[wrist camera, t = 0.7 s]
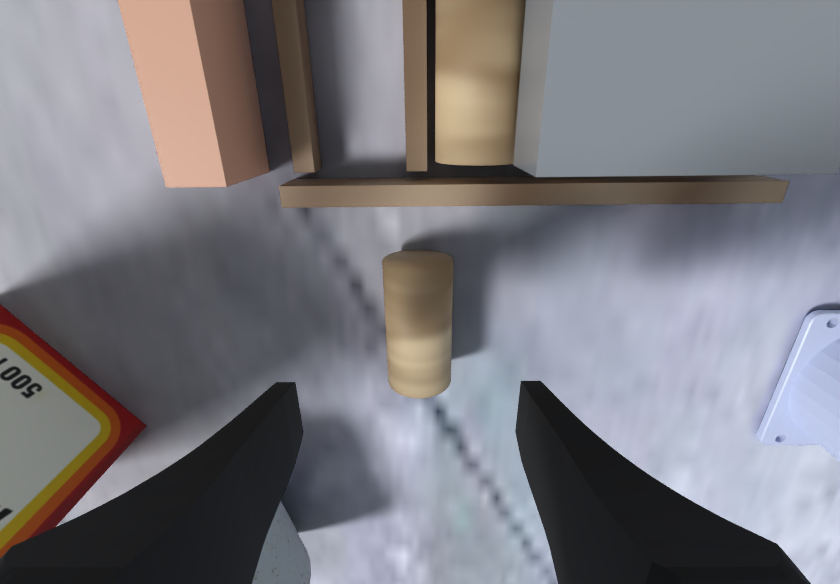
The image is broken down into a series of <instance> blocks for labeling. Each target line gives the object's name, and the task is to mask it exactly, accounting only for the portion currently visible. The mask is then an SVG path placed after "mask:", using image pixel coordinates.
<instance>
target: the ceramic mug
mask: <svg viewBox="0 0 840 584" xmlns="http://www.w3.org/2000/svg"><path fill="white" fill-rule="evenodd" d="M310 577H311V567H310V559H309V556H308V553H307V550H306V548H305V546H304V544H303V542H302V541H301V539H300V537H299V535H298V533H297V530H296V528H295V526H294V524H293V522H292V520H291V519H290V517H289V515H288V513H287V511H286V509H285V507H284V506H283V504H282V502H281V501H280V503H279V506H278V508H277V511H276V513H275V516H274V518H273V521H272V523H271V526H270V528H269V531H268V534H267V536H266V539H265V542H264V545H263V548H262V551H261V555H260V558H259V561H258V565H257V568H256V571H255V575H254V578H253V582H252V584H310Z"/></svg>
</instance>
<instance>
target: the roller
mask: <svg viewBox="0 0 840 584" xmlns="http://www.w3.org/2000/svg"><path fill="white" fill-rule="evenodd" d="M453 263H454V260H453V258H452V257H451V256H450V255H448V254H446V253H443V252H439V251H434V250H405V251H399V252H395V253H392V254H389V255H387V256H386V257H385V258H384V259H383V260H382V265H383V285H384V304H385V323H386V342H387V362H388V381H389V385H390V386H391V388H392V389H393V390H394V391H395V392H397V393H399V394H401V395H403V396H406V397H410V398H428V397H432V396H435V395H438V394H440V393H442V392H443V391H445V390H446V389H447V388H448V386H449V385H450V382H451V349H452V306H453Z"/></svg>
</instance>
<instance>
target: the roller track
mask: <svg viewBox="0 0 840 584" xmlns="http://www.w3.org/2000/svg"><path fill="white" fill-rule="evenodd" d="M271 1H272V9H273V16H274V24H275V32H276V39H277V47H278V54H279V62H280V69H281V77H282V85H283V92H284V100H285V107H286V115H287V122H288V130H289V138H290V145H291V153H292V160H293V168H294V173H304V172H316V171H318V170H320V169H322V166H321V157H320V147H319V138H318V128H317V119H316V109H315V100H314V90H313V81H312V71H311V62H310V52H309V43H308V33H307V24H306V14H305V5H304V0H271ZM525 7H526V0H436V66H435V162H437V163H442V164H451V165H474V166H484V165H507V164H513V161H514V148H515V135H516V122H517V109H518V97H519V84H520V71H521V58H522V45H523V33H524V20H525ZM403 41H404V83H405V124H406V166H407V171H427V11H426V0H403ZM788 184H789V181H786V180H780V179H774V178H768V177H763V176H757V175H696V176H600V177H534V176H531V177H435V178H339V179H293V180H291V181H289V182H287V183H285V184H283V185H281V186H279V192H280V199H281V205H282V208H296V207H402V206H508V205H614V204H720V203H782V202H783V199H784V196H785V193H786V190H787V187H788Z"/></svg>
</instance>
